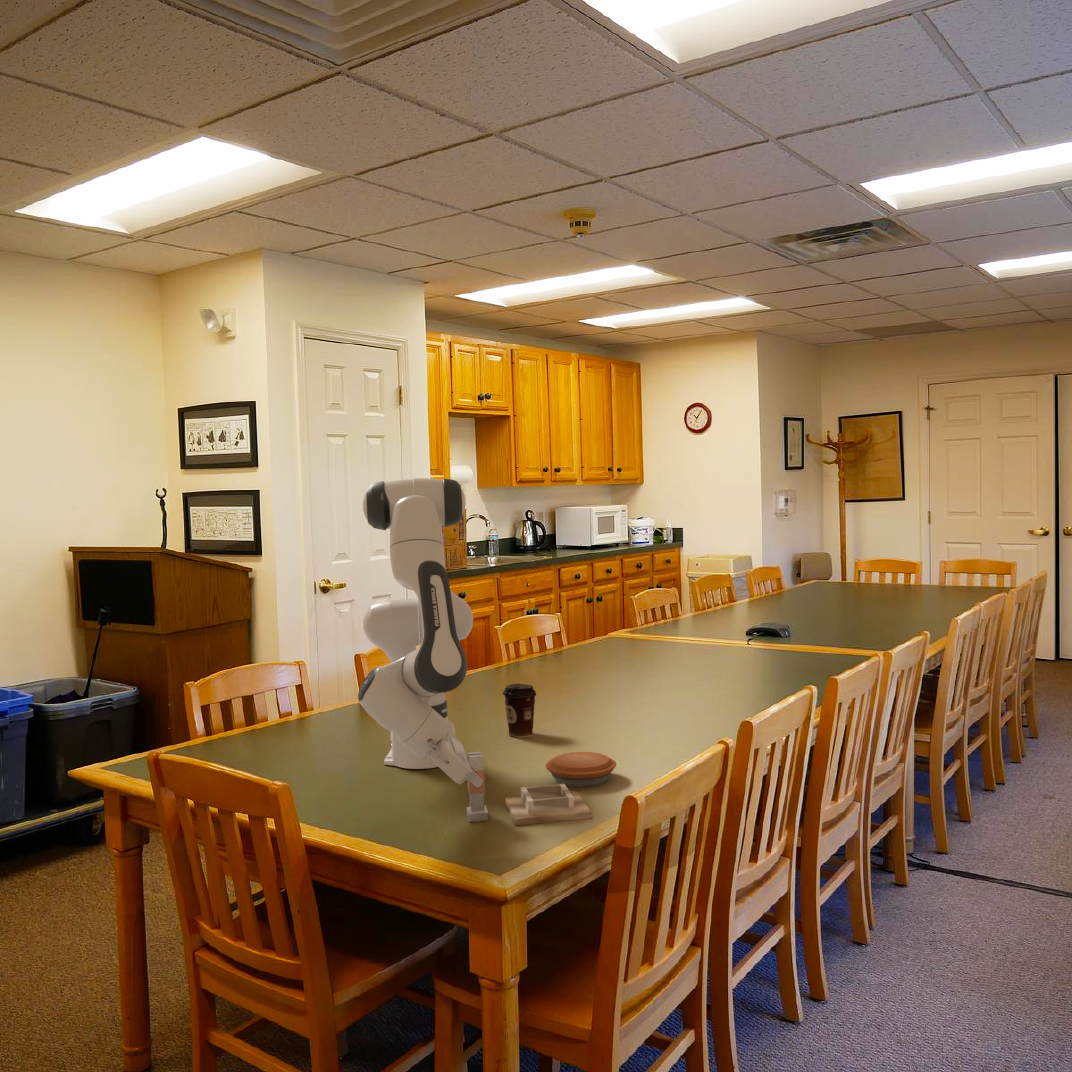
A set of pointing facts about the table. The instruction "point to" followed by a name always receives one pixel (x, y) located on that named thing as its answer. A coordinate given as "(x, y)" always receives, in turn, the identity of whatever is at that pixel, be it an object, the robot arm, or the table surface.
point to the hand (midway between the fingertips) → (479, 779)
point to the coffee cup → (520, 709)
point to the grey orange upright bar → (476, 790)
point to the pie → (581, 768)
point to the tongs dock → (546, 805)
